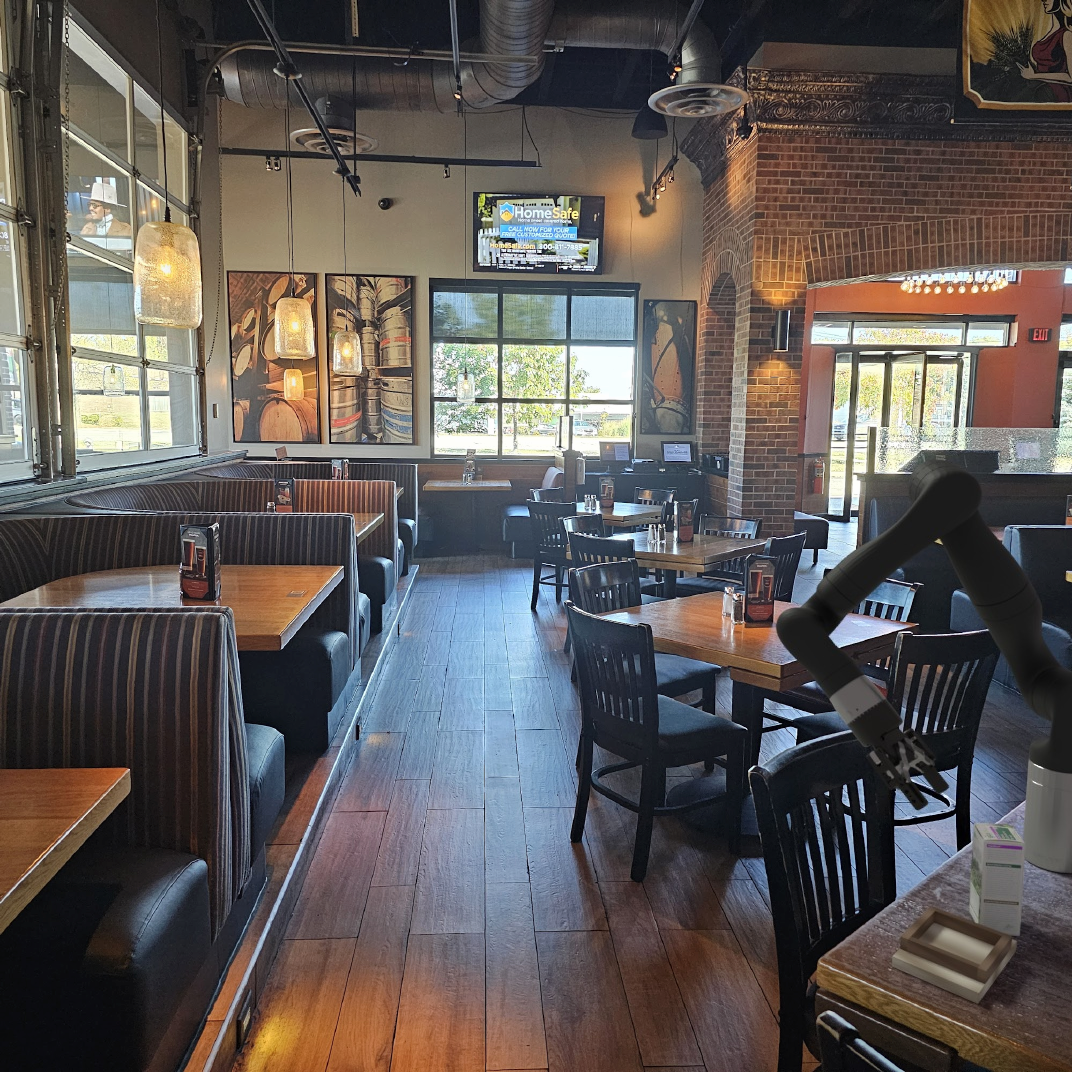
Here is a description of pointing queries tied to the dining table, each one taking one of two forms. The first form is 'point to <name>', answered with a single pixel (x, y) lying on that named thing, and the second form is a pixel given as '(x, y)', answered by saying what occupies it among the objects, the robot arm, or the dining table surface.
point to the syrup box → (997, 877)
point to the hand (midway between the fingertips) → (934, 799)
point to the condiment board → (954, 953)
